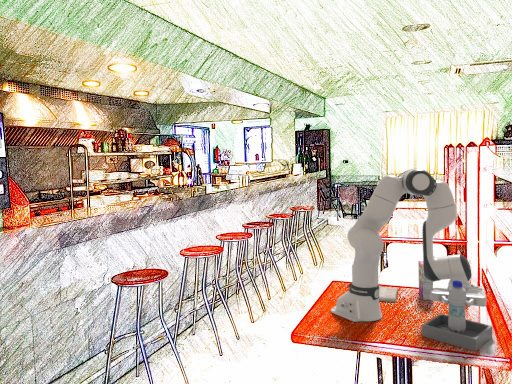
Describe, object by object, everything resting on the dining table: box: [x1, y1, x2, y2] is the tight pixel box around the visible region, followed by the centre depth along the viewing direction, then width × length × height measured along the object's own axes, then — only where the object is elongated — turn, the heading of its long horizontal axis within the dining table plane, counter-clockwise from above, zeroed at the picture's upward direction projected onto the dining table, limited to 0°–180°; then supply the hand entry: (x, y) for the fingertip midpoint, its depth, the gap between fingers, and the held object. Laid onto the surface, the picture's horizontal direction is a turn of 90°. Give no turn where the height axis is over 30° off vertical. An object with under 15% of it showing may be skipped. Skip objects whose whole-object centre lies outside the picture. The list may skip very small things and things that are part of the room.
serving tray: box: [421, 313, 493, 352], centre depth 175 cm, size 20×16×4 cm
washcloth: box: [379, 285, 399, 303], centre depth 225 cm, size 12×18×3 cm, turn 160°
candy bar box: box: [417, 260, 434, 301], centre depth 221 cm, size 11×5×16 cm, turn 170°
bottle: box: [448, 280, 467, 333], centre depth 174 cm, size 7×7×20 cm
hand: (457, 303), depth 173 cm, fingers closed on bottle, 6 cm apart
